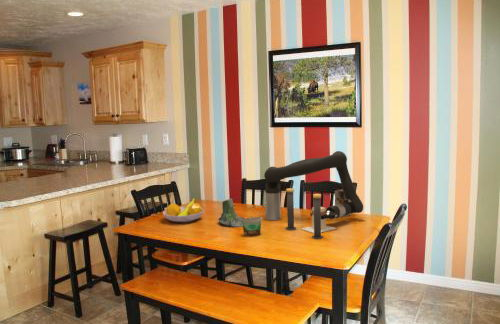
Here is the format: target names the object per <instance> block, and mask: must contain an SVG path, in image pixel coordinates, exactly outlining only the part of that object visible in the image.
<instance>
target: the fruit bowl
mask: <svg viewBox="0 0 500 324" xmlns="http://www.w3.org/2000/svg"><path fill="white" fill-rule="evenodd" d="M195 200H196V199H195V197H193V198H192V200H191V201H190V202H189V203H188V204H187V205H186V206H179V205H178V204H176V203H170V204H169V205H168V207H167V208H166V209H165V210H163V211H162V213H163V216H164V218H165V220H168V221H171V222H174V223H190V222H192V221H195V220H197V219H199V218H201V217H202V216H203V213H204V212H205V210H204V209H203V208H202V205H200V204H199V203H198V202H197V203H196V202H195Z"/></svg>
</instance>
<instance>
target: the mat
mask: <svg viewBox="0 0 500 324" xmlns="http://www.w3.org/2000/svg"><path fill="white" fill-rule="evenodd" d="M336 229H337V227H334V226H331V225H327V224H326V229H322V230H321V234H322V232H323V233H325V232H329V231H333V230H334V231H335V230H336ZM301 231H304V232H307V231H308V232H307V233H310V232H311V234H313V233H314V229H313V228H312V225H311V226H306V227H303V228H302V227H301Z"/></svg>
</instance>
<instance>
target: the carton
mask: <svg viewBox="0 0 500 324" xmlns="http://www.w3.org/2000/svg"><path fill="white" fill-rule="evenodd" d="M326 209H327V207H323V206H321V216H322V215H326ZM311 213H312V217H311V226H312V228H313V229H314V206H313V207H311ZM326 221H327V219H323V220H322V219H321V230H322V229H326V225H327V223H326Z"/></svg>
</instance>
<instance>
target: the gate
mask: <svg viewBox="0 0 500 324" xmlns="http://www.w3.org/2000/svg"><path fill="white" fill-rule="evenodd" d="M294 190H295V189H294V188H286V189H285V191H286V202H287V203H286V205H287V206H286V207H287V208H286V210H287V213H286V215H287V226H286V227H285V230H286V231H295V229H296V230H297V227H295V220H294V219H295V218H294V217H295V215H294V213H295V211H294V207H295V206H294V204H295V203H294V192H295V191H294ZM312 197H313V207H314V234H313V235H312V236H311V239H313V238H314V239H313V240H323V239H324V235H322V233H321V207H322V205H321V200H322V199H321V198H322V194H321V193H313V194H312ZM322 238H323V239H322Z"/></svg>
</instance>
